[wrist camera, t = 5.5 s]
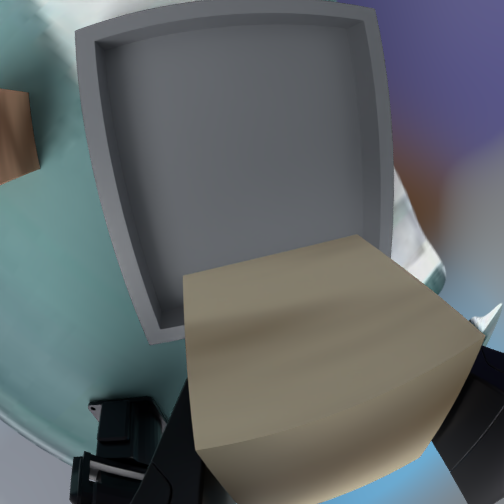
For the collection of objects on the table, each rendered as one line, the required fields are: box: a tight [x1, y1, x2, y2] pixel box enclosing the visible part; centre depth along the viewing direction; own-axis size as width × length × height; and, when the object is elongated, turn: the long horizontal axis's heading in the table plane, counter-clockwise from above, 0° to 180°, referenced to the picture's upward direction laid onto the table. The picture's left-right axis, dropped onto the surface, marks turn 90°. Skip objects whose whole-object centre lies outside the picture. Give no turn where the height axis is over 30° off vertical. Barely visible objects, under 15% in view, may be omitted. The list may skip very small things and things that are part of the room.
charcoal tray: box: [75, 0, 394, 345], centre depth 16 cm, size 18×16×3 cm
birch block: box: [183, 234, 485, 504], centre depth 7 cm, size 5×5×5 cm
